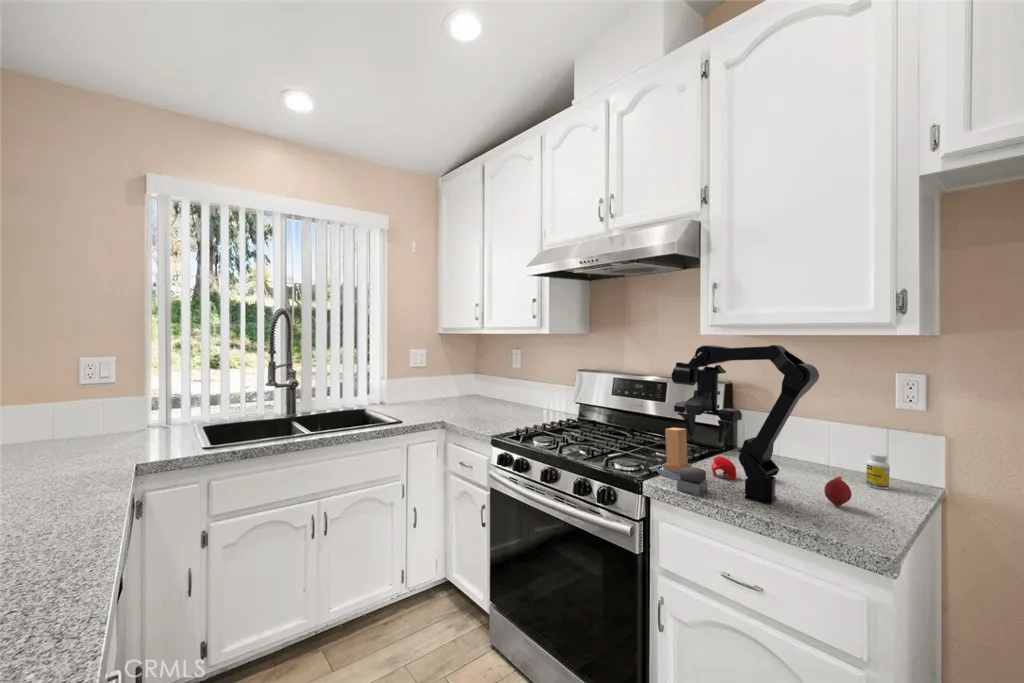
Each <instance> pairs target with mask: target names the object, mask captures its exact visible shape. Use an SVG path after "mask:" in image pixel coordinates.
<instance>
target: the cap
mask: <svg viewBox="0 0 1024 683" xmlns="http://www.w3.org/2000/svg"><path fill="white" fill-rule="evenodd" d="M734 464H735V463H734V462H733V461H731V460H730V459H728V458H726V457H724V456H721V455H717V456H715V457H714V458H713V462H712V464H711V471H712V475H713V476H714V477H716V476H717V474H716V471H717V470H721V471H723V472H722V475H723V474H725V475H727V477H728V478H729V479H730V480H731V481H734V479H735V480H736V478H737V468H736V465H734Z"/></svg>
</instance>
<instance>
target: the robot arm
mask: <svg viewBox="0 0 1024 683" xmlns="http://www.w3.org/2000/svg"><path fill="white" fill-rule="evenodd" d="M694 353H695V354H694V355H693V357H692V358H691V359H690V361H689V362H688V363H687V362H680V361H679V362H676V363H675V366H674V367H673V370H672V372H671V380H672V382H673V384H676V385H682V386H691V387H692V386H695V385H696V389H694V391H693V396H692V397H690V398H689V399H688V400H686V401H677V402H675V403H674V405H673V412H675V413H677V415H678V416H681V418H682V419H683V420H684V423H685V425H686V427H687V428H686V430H687V432H688V435H689V436H690V437H693V436H694V434H695V433H694V432H695V425H696V416H701V415H703V414H705V415H711V416H716V417H718V418H719V419H718V420H717V424H718V437H717V438H718V439H717V440H718V443H719V444H721V443H722V442H723V441H724V439H725V437H726V435H727V434H728V431H729V430H730V428H731V427H732V425H733V424H735V423H738V421H742V420H743V419H742V417H743V413H742V411H741V409H736V408H729V407H728V408H721V409H720V404H718V398H719V397H718V396H719V395H720V394H721V391H719V390H718V389H719V375H721V374H727V371H726V370H725V369H724V368H723V367H722V365H721V364H724V363H727V362H731V361H750V360H751V361H758V360H759V361H760V360H762V361H765V360H768V361H770V362H771V363H772V364H773V365H774V366H775V368H776V369H777V370H778V371H779V372H780V373H781V374H782V375H783V379H782V381H781V390H780V394H779V395H778V397H777V400H776V401H775V403H774V405H773V406H772V408H771V410H770V412H769V414H768V415H767V417H766V419H765V421H764V423H763V425H762V426H761V428H760V430H759V431H758V432H757V434H756V436H754V437H751V438H747V439H744V442H743V444H742V446H741V448H740V449H739V450H738V451H737V453H739V454H738V461H739V464H740V465H741V466H742V468H743V471H744V474H745V477H746V479H745V480H744V494H745V495H744V498H745V499H748V500H752V501H756V502H760V503H765V504H768V505H771V504H773V502H775V501H776V500H778V499H777V498H778V497H777V496H776V476H777V475H778V473H779V471H780V468H779V467H778V465H777V464H776V463H775V462H774V461H773V459H772V456H773V452H774V445H775V441H777V438H778V437H779V435H780V433H781V431H782V430H783V428H784V426H785V425H786V423H787V421H788V419H789V417H790V416H791V414H792V412H793V411H794V409H795V407H796V405H797V403H798V402H799V400H800V399H801V398H803V396H805V394H806V393H808V392H809V391H810V390H811V389H812V388H813V386H814V385H815V384H816V383H817V382H818V381H819V378H820V373H819V370H818V369H817V368H816V366H814V365H813V364H809V363H805V362H804V361H803V360H802V359H800V358H799V357H797V356H796V355H794V354H793V353H791V352H790V351H788V350H787V349H786V348H785V347H784V346H782V345H779V344H772V345H764V346H748V347H727V346H723V345H722V346H720V345H707V344H706V345H700V346H698V347H697V348H696V350H695V352H694ZM710 365H715V366H710ZM701 368H703V369H701Z"/></svg>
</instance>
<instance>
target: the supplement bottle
mask: <svg viewBox="0 0 1024 683" xmlns="http://www.w3.org/2000/svg"><path fill="white" fill-rule="evenodd" d="M869 458H870V459H868V460H867V462H866V476H865V477H866V478H865V484H867V485H870V486H873V487H876V488H888V489H889V487H890V472H891V471H890V469H891V468H890V466H891V465H890V463H888V462H887V461H888V456H887V454H885V453H881V452H870V454H869ZM867 485H866V486H867ZM876 488H875V489H876Z"/></svg>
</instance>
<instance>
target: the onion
mask: <svg viewBox="0 0 1024 683" xmlns="http://www.w3.org/2000/svg"><path fill="white" fill-rule="evenodd" d="M842 478H843V477H842V476H841V475H837V476H836V477H834V478H833V479H831V480H829V481H828V482H827V483H825V485H824V489H823V490H824V495H825V497H826V499H827V500H828V501H829V502H830V503H832V504H833V505H834V506H835V507H841V506H842V505H844V504H846V503H848V502H849V501H850V500H851V498H852V491H851V488H850V487H849V485H848V484H847V483H846V482H845V481H844V480H843V479H842Z"/></svg>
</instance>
